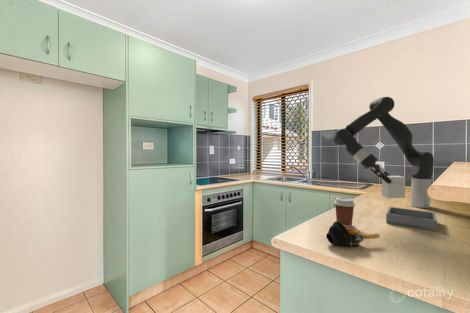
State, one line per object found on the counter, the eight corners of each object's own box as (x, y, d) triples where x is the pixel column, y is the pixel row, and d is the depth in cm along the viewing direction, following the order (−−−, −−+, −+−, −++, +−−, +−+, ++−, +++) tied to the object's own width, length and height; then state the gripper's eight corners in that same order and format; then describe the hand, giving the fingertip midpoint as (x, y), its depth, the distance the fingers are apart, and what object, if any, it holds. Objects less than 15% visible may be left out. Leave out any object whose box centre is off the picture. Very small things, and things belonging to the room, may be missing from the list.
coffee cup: (358, 228, 100) (358, 201, 99) (336, 227, 101) (336, 200, 101) (351, 222, 109) (352, 197, 108) (331, 220, 110) (331, 196, 110)
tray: (389, 215, 120) (389, 206, 119) (434, 221, 108) (434, 212, 108) (386, 222, 107) (386, 213, 107) (436, 231, 96) (437, 220, 96)
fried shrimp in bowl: (318, 228, 88) (355, 210, 91) (332, 256, 84) (370, 237, 88) (329, 226, 79) (370, 207, 83) (346, 258, 76) (387, 236, 80)
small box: (398, 196, 115) (398, 175, 115) (405, 198, 110) (405, 176, 109) (381, 196, 116) (381, 175, 116) (387, 198, 110) (387, 176, 110)
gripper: (368, 153, 112) (396, 178, 105) (373, 152, 123) (398, 175, 116) (356, 163, 116) (382, 188, 109) (362, 162, 127) (386, 184, 120)
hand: (391, 181), depth 113 cm, fingers closed on small box, 8 cm apart
